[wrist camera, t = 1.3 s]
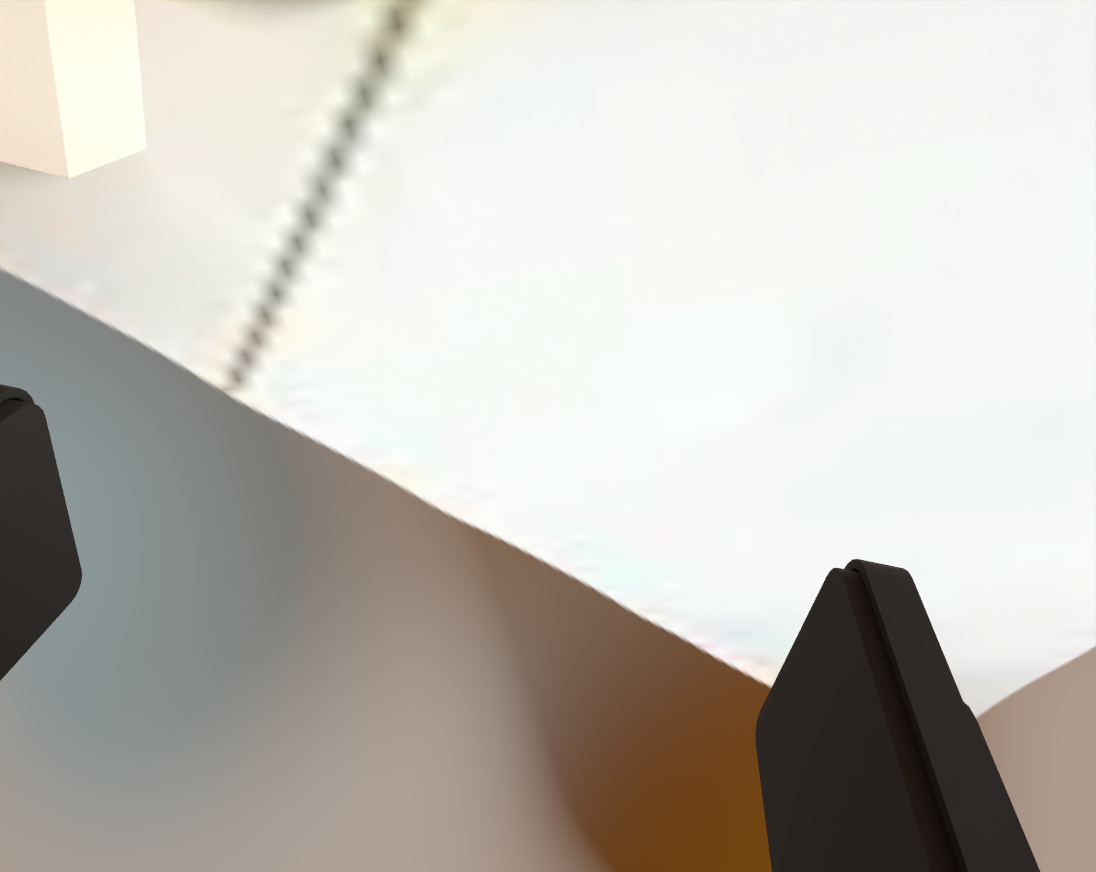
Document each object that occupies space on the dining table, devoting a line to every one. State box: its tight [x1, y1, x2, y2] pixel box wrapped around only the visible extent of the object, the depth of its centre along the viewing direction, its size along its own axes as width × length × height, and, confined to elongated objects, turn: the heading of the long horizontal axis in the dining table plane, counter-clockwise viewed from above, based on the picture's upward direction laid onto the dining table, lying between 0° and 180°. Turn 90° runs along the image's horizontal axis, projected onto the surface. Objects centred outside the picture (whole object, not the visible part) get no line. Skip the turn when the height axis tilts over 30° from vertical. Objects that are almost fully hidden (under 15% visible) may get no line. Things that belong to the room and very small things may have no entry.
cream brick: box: [0, 0, 147, 178], centre depth 27 cm, size 8×4×5 cm, turn 168°
